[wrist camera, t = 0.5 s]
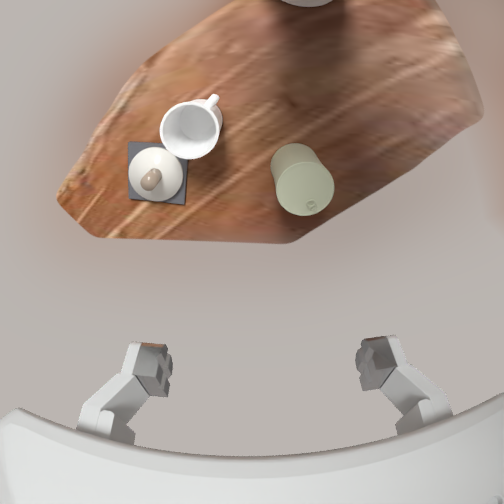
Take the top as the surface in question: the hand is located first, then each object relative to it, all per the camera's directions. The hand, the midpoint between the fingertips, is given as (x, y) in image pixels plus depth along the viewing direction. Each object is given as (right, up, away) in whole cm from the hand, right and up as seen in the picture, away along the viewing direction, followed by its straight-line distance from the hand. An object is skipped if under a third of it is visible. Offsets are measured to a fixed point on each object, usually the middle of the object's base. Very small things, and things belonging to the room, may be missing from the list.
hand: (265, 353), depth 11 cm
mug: (-9, +28, +34) cm, 45 cm away
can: (+8, +20, +40) cm, 45 cm away
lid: (-19, +19, +39) cm, 48 cm away
